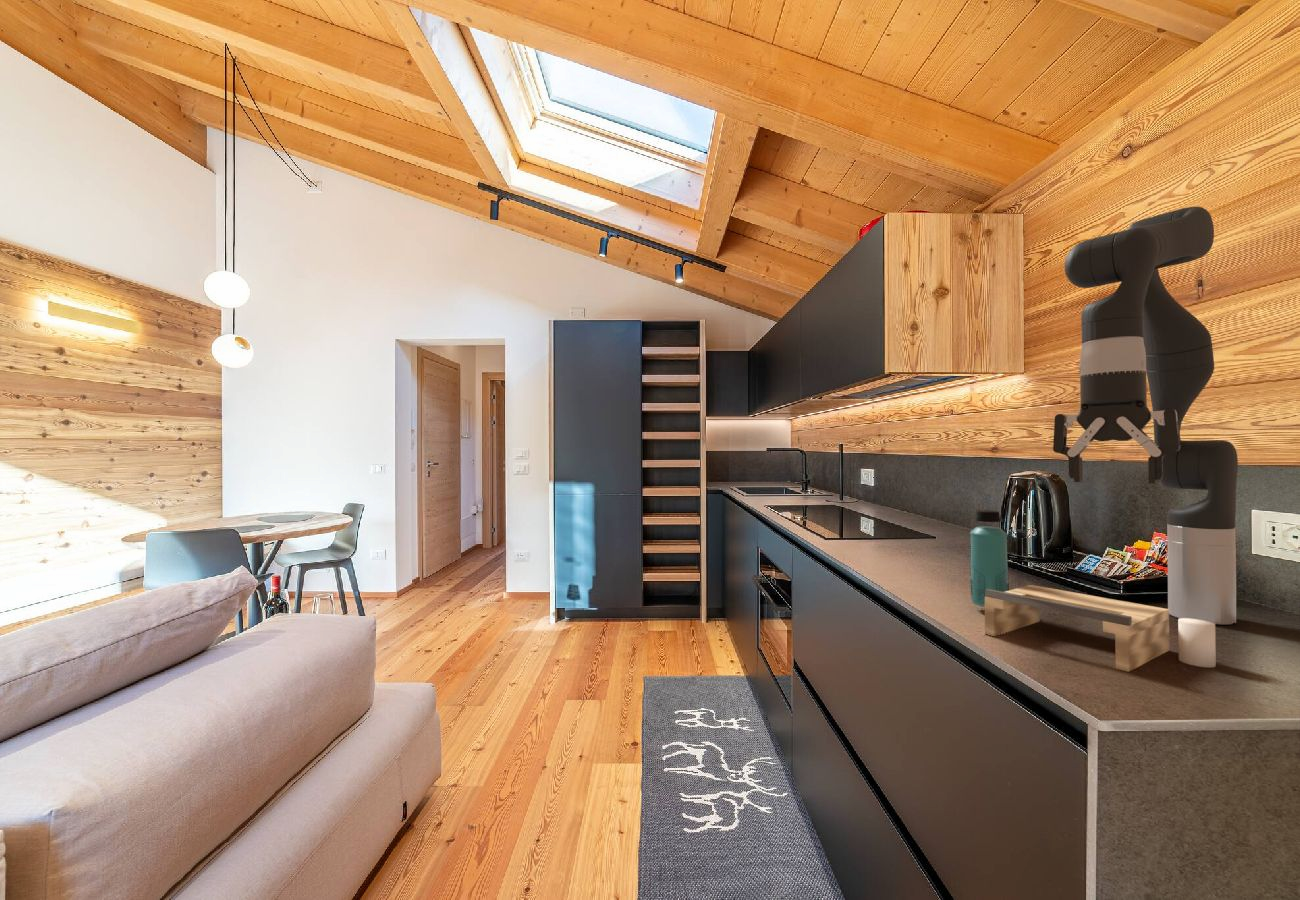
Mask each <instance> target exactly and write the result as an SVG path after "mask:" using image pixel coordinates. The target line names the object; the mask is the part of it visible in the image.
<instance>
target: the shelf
mask: <svg viewBox="0 0 1300 900" xmlns="http://www.w3.org/2000/svg"><path fill="white" fill-rule="evenodd" d="M985 594H986V597H985V607H984V635H985V634H988V635H987V636H989V635H991V636H990V637H992V636H995V637H997V636H996V635H998V636H1001V635H1003V634H1002V633H1004V634H1007V633H1010V632H1012V631H1016V630H1018V629H1022V628H1026V627H1028V626H1030V625H1034V624H1036V623H1039V622H1041V621H1040V617H1041V616H1040V615H1041V614H1040V612H1041V611H1040V609H1043V610H1048V611H1054V612H1059V613H1063V614H1067V615H1068V614H1069V615H1072V616H1078V617H1083V618H1088V619H1091V620H1096V621H1102V632H1103V633H1108V634H1114V637H1115V638H1114V641H1115V643H1114V644H1115V645H1114V647H1115V669H1116V670H1120V671H1123V672H1128V673H1130V672H1131V671H1133V670H1135V669H1137V668H1139V667H1141V666H1143V665H1144V664H1146V663H1148V662H1150V661H1152V660H1153V659H1156V658H1157V657H1158V658H1159V657H1160V656H1161V655H1163V654H1165V653H1168V652H1169V651H1170V614H1169V609H1168V608H1163V607H1160V606H1159V607H1158V606H1153V605H1146V604H1141V603H1136V602H1131V601H1126V600H1119V599H1118V600H1117V599H1113V598H1107V597H1102V596H1096V595H1090V594H1085V593H1079V592H1073V591H1068V590H1063V589H1062V590H1061V589H1056V588H1050V587H1045V586H1039V585H1034V584H1029V585H1025V586H1024V585H1023V586H1020V587H1018V588H1017V587H1016V588H1012V589H1009V591H1005V592H1002V591H997V590H991V589H986V590H985ZM1009 631H1010V632H1009ZM1006 632H1007V633H1006ZM1000 634H1001V635H1000Z"/></svg>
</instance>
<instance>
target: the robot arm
mask: <svg viewBox="0 0 1300 900" xmlns="http://www.w3.org/2000/svg"><path fill="white" fill-rule="evenodd" d="M1214 239H1215V228H1214V222H1213V218H1212V216H1211V214H1210V212H1209V211H1208V210H1207V209H1206V208H1205V207H1201V206H1188V207H1182V208H1179V209H1176V210H1171V211H1168V212H1164V213H1161V214H1157V215H1154V216H1150V217H1147V218H1143V219H1140V220H1137V221H1135V222H1132V223H1131V224H1130V225H1129V226H1128V229H1124V230H1121V231H1117V232H1114V233H1109V234H1105V235H1102V236H1098V237H1093V238H1090V239H1086V240H1083V241H1080V242H1079V243H1077V244H1075V245H1074V246H1073V247H1072V248H1071V249H1070V250H1069V252H1068V254H1067V255H1066V258H1065V261H1064V272H1065V276H1066V278H1067V280H1068V281H1069V282H1070V284H1072V285H1074V286H1075V287H1078V288H1080V289H1081V288H1082V289H1092V288H1096V287H1101V286H1106V285H1110V284H1116V283H1119V282H1120V284H1119V286H1118V288H1117V289H1116V290H1115V291H1114V292H1113V293H1111V294H1110V295H1108V296H1105V297H1103V298H1101V299H1099V300H1096V301H1093V302H1090V303H1089V304H1086V306H1084V307H1083V309H1082V310H1081V315H1080V316H1081V319H1080V320H1081V324H1080V326H1081V349H1080V356H1079V367H1078V372H1079V379H1080V381H1079V384H1080V386H1079V387H1080V390H1079V391H1080V393H1079V394H1080V397H1079V398H1080V408H1079V412H1078V414H1063V413H1058V414H1056V415H1055V416H1054V424H1053V425H1054V427H1053V440H1052V441H1053V443H1052V450H1053V452H1054V453H1056V454H1060V455H1065V456H1066V457H1067V459H1068V476H1069V478H1070V479H1073V482H1074V483H1082V482H1083V480H1084V479H1083V457H1081V454H1082V453H1083V452H1084V451H1085V449H1086V448H1088V447H1089V446H1090V445H1091V444H1092V443H1093V441H1097V442H1111V441H1118V442H1128V441H1130V440H1134V441H1135V442H1136V443H1137V444H1138V445H1139V446H1141V447H1142V448H1143V449H1144V450H1145V451H1146V452H1147V453H1148V454H1149V455H1150V457H1149V456H1148V459H1147V460H1148V462H1147V463H1148V464H1147V465H1148V467H1147V468H1148V484H1149V485H1156V484H1157V483H1158V481H1159V482H1160V484H1161V485H1162V486H1163V487H1165V488H1169V489H1177V490H1198V491H1199V490H1201V491H1207V494H1206V496H1205V498H1204V499H1202V500H1200V501H1198V502H1195V503H1193V504H1188V505H1185V506H1178V507H1175V508H1171V509H1169V510H1168V511H1167V515H1166V524H1167V526H1166V527H1167V530H1166V531H1167V609H1169V616H1170V615H1171V616H1173V617H1174V618H1178V619H1180V618H1190V619H1198V620H1204V621H1208V622H1211V623H1214V624H1215V625H1233V623H1235V624H1237V553H1236V552H1237V548H1236V547H1237V546H1236V541H1237V540H1236V514H1237V512H1236V511H1237V510H1236V509H1237V504H1236V503H1237V499H1236V498H1237V497H1236V496H1237V484H1238V483H1237V482H1238V471H1239V470H1238V469H1239V468H1238V467H1239V466H1238V465H1239V459H1238V452H1237V449H1236V447H1235V445H1234V444H1233V443H1232V442H1230V441H1227V440H1223V439H1221V440H1217V439H1216V440H1214V439H1213V440H1210V439H1209V440H1182V439H1181V435H1180V434H1181V427H1182V422H1183V420H1184V418H1185V417H1186V414H1187V413H1188V411H1189V410H1190V407H1191V406H1192V405H1193V404H1194V402H1195V401H1196V399H1197V398H1198V397H1199V395H1200V394H1201V392H1202V391H1203V390H1204V388H1205V387H1206V386H1207V384H1208V383H1209V382H1210V380H1211V378H1212V376H1213V374H1214V371H1215V359H1214V351H1213V350H1214V348H1213V343H1212V342H1213V341H1212V336H1211V333H1210V331H1209V330H1208V328H1207V327H1206V326H1205V325H1204V324H1203V323H1202V322H1201V321H1200V320H1199V319H1198V318H1197V317H1196V316H1195V315H1193V314H1192V313H1191V312H1190V311H1188V310H1187V309H1186V308H1184V307H1183V305H1181V304H1180V303H1179V302H1178V301H1177V300H1176V299H1175V298H1174V297H1173V296H1172V295H1171V293H1170V292H1169V291H1168V290H1167V288H1166V286H1165V285H1164V283H1163V281H1162V278H1161V276H1160V273H1159V269H1163V268H1167V267H1171V266H1177V265H1180V264H1185V263H1190V262H1193V261H1196V260H1198V259H1201V258H1203V257H1205V256H1206V255H1207V254H1208V253H1209V252H1210V251H1211V249H1212V247H1213V245H1214ZM1147 383H1148V384H1147ZM1147 385H1148V388H1149V396H1150V402H1151V409H1152V411H1150V410H1149V407H1148V404H1147V402H1148V401H1147V399H1148V398H1147V390H1148V389H1147ZM1151 419H1152V420H1153V439H1152V438H1151V437H1150V436H1149V435H1148V434H1147V433H1146V432H1145V431H1144V430H1143V429H1144V428H1145V426H1147V425H1148V423H1149V422H1150V421H1151ZM1076 422H1077V423H1078V424H1079V426H1080V427H1082V429H1083V430H1085V431H1084V432H1082V434H1081V435H1080V436H1079V438H1078V439H1077V440H1076V441H1075V443H1073V445H1072V446H1071V447H1070V446H1067V438H1068V436H1067V435H1068V429H1071V428H1072V427H1073V426H1074V423H1076Z"/></svg>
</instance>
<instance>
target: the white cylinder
mask: <svg viewBox="0 0 1300 900" xmlns="http://www.w3.org/2000/svg"><path fill="white" fill-rule="evenodd" d="M1177 626H1178V628H1177V631H1178V634H1177V635H1178V636H1177V637H1178V639H1177V640H1178V643H1177V644H1178V647H1177V648H1178V661H1180V663H1181V662H1182V663H1184V664H1185V665H1186V664H1187V665H1190V666H1195V667H1200V668H1215V667H1216V663H1217V662H1216V658H1217V657H1216V656H1217V655H1216V624H1214V623H1211V622H1208V621H1204V620H1198V619H1190V618H1178V619H1177Z"/></svg>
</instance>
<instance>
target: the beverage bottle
mask: <svg viewBox="0 0 1300 900" xmlns="http://www.w3.org/2000/svg"><path fill="white" fill-rule="evenodd" d="M975 521H976V522H982V523H983V522H984V523H1000V522H1001V516H1000V511H998V510H991V509H981V510H980V509H979V510H977V511H976V516H975ZM969 534H970V568H969V570H970V596H971V597H970V598H971V601H972V604H973V605H976V606H979V607H982V608H985V597H986V594H985V590H986V589H991V590H997V591H1002V592H1005V591H1009V590H1010V587H1009V586H1010V583H1009V579H1010V578H1009V577H1010V576H1009V569H1010V568H1009V563H1008V547H1007V546H1008V545H1007V543H1008V540H1007V537H1008V534H1007V533H1006V532H1005V530H1003V528H1001V527H997V526H986V525H985V526H983V525H982V526H976V527H974V528H973V529H971V531H970V532H969Z"/></svg>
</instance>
